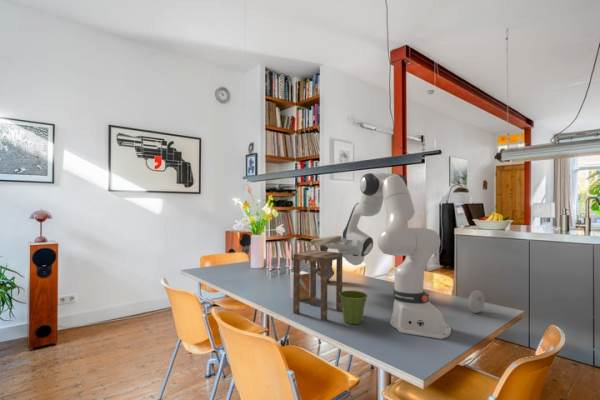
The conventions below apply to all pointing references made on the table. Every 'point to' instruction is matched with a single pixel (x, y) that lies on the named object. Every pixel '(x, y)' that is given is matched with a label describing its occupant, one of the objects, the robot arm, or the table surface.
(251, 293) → the table surface
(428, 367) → the table surface
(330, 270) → the clay figurine
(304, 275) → the small box
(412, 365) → the table surface
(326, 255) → the stool
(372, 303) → the table surface
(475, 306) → the donut
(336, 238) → the slat
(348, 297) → the plant pot
